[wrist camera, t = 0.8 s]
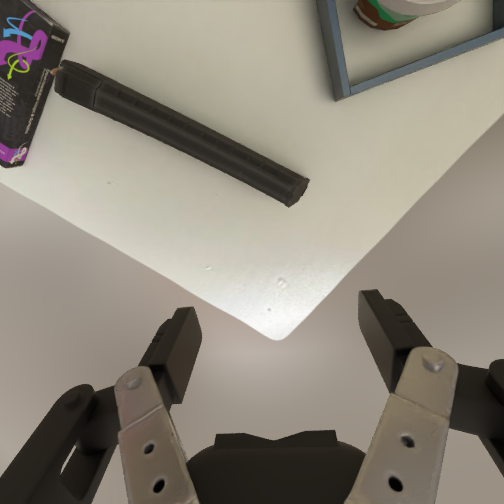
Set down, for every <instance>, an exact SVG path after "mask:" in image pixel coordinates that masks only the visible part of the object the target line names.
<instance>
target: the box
mask: <svg viewBox="0 0 504 504" xmlns="http://www.w3.org/2000/svg"><path fill="white" fill-rule="evenodd" d="M68 36H69V32H68V31H67V30H66V29H64V28H63V27H62V26H61V25H59V24H58V23H57V22H56V21H54V20H53V19H52V18H51V17H49V16H48V15H47V14H46V13H44V12H43V11H42V10H41V9H39V8H38V7H37V6H36V5H34V4H33V3H32V2H31V1H29V0H0V165H1V166H2V167H4V168H13V167H17V166H23V163H24V160H25V157H26V155H27V152H28V149H29V146H30V143H31V140H32V137H33V134H34V132H35V129H36V126H37V123H38V120H39V118H40V115H41V112H42V109H43V106H44V104H45V101H46V98H47V95H48V92H49V89H50V87H51V84H52V81H53V78H54V75H53V74H51V72H50V71H51V70H53V69H55V68H57V67H58V64H59V61H60V58H61V55H62V53H63V50H64V47H65V44H66V41H67V39H68Z"/></svg>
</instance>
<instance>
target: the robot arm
mask: <svg viewBox="0 0 504 504" xmlns="http://www.w3.org/2000/svg"><path fill="white" fill-rule="evenodd" d="M358 300H359V301H358V303H359V304H358V320H359V326H360V329H361V332H362V334H363V336H364V338H365V340H366V343H367V345H368V347H369V349H370V351H371V353H372V356H373V358H374V360H375V362H376V365H377V366H378V369H379V371H380V373H381V375H382V377H383V379H384V382H385V384H386V386H387V388H388V391H389V393H390V396H389V398H388V400H387V403H386V405H385V408H384V411H383V413H382V416H381V418H380V420H379V423H378V426H377V428H376V431H375V433H374V436H373V438H372V441H371V443H370V446H369V448H368V451H367V453H366V454H365V453H364V452H362V451H361V450H359V449H357V448H356V447H354V446H352V445H349V444H346V443H344V442H340V441H337V437H336V432H335V430H324V431H323V430H322V431H304V432H300V433H297V434H294V435H291V436H288V437H284V438H281V439H278V440H269V439H265V438H261V437H257V436H253V435H250V434H246V433H235V434H216V438H215V443H214V445H212V446H210V447H207V448H205V449H203V450H202V451H200V452H199V453H198V454H196V455H195V456H194V457H192V458H191V459H190V460H188V458H187V456H186V453H185V451H184V448H183V445H182V443H181V441H180V438H179V435H178V433H177V430H176V428H175V425H174V422H173V420H172V417H171V415H170V412H169V411H170V408H171V405H172V404H181V403H182V401H183V398H184V395H185V391H186V388H187V385H188V382H189V379H190V376H191V373H192V370H193V367H194V364H195V361H196V357H197V354H198V351H199V348H200V345H201V342H202V332H201V328H200V325H199V321H198V318H197V315H196V312H195V309H194V307H182V308H177V310H176V311H175V313H174V315H173V317H172V319H167V320H166V321H165V322H164V323H163V324H162V325H161V326H160V327H159V329H158V331H157V333H156V336H154V338H153V340H152V343H150V345H149V347H148V349H147V351H146V352H145V354H144V356H143V358H142V360H141V361H140V363H139V365H138V367H135V368H132V369H131V370H129V371H127V372H125V373H124V374H123V375H122V376H121V377H120V378H119V379H118V381H117V382H116V384H115V385H114V386H111V387H108V388H105V389H102V390H99V391H96V392H95V391H94V389H93V387H92V386H91V385H89V384H82V385H79V386H76V387H74V388H72V389H70V390H68V391H67V392H66V393H64V394H63V395H62V396H61V397H60V398H59V399H58V400H57V401H56V402H55V404H54V405H53V406H52V408H51V409H50V411H49V412H48V414H47V415H46V416H45V417H44V419H43V420H42V422H41V423H40V424H39V426H38V427H37V428H36V430H35V431H34V432H33V434H32V435H31V436H30V438H29V439H28V441H27V442H26V443H25V445H24V446H23V447H22V449H21V450H20V451H19V453H18V454H17V455H16V457H15V458H14V460H13V461H12V462H11V464H10V465H9V466H8V468H7V469H6V470H5V472H4V473H3V474H2V476H1V477H0V504H91V503H92V501H93V498H94V496H95V494H96V492H97V489H98V487H99V485H100V482H101V480H102V478H103V476H104V473H105V471H106V469H107V466H108V464H109V462H110V459H111V457H112V455H113V453H114V450H115V448H116V446H117V444H119V448H120V454H121V460H122V466H123V473H124V479H125V484H126V491H127V497H128V503H129V504H435V500H436V495H437V489H438V484H439V478H440V473H441V467H442V462H443V457H444V451H445V446H446V440H447V435H448V429H449V428H451V429H455V430H459V431H462V432H466V433H470V434H474V435H478V436H479V438H480V440H481V441H482V443H483V445H484V446H485V448H486V449H487V451H488V452H489V454H490V456H491V457H492V459H493V461H494V462H495V464H496V465H497V467H498V469H499V470H500V472H501V473H502V475H503V477H504V359H499V360H495V361H493V362H492V363H491V364H490V366H489V369H484V368H478V367H472V366H467V365H462V364H459V363H456V362H455V360H454V359H453V358H452V357H450V356H449V355H448V354H447V353H445V352H443V351H441V350H439V349H436V348H433V347H432V345H431V344H430V343H429V342H428V340H427V339H426V338H425V336H424V335H423V334H422V332H421V331H420V330H419V328H418V327H417V326H416V324H415V323H414V322H413V320H412V319H411V318H410V316H409V315H408V314H407V312H406V311H405V310H404V309H403V307H402V306H401V305H400V304H398V303H397V302H395V301H394V300H392V299H386V300H384V298H383V297H382V295H381V294H380V293H379V291H378V290H377V289H373V290H364V291H363V290H362V291H359V298H358ZM74 445H75V446H76V449H75V450H74V452H73V454H72V456H71V457H70V459H69V461H68V463H67V465H66V466H65V468H64V470H63V472H62V473H61V469H62V466H63V464H64V462H65V461H66V459H67V457H68V455H69V454H70V452H71V450H72V448H73V447H74ZM60 473H61V475H60Z"/></svg>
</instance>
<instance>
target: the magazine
mask: <svg viewBox="0 0 504 504" xmlns="http://www.w3.org/2000/svg"><path fill="white" fill-rule="evenodd" d="M60 66H61V68H55V69H53V70H51V71H50V72H51V74H53V75H54V76H56V78H55V87H54V90H55V92H57V93H59V95H60V96H62V97H63V98H66V99H68V100H70V101H72V102H75V103H77V104H79V105H81V106H84V107H86V108H88V109H90V110H92V111H95V112H97V113H100V114H103V115H105V116H107V117H109V118H111V119H113V120H115V121H118V122H120V123H122V124H125V125H127V126H129V127H130V128H133V129H135V130H138V131H140V132H142V133H144V134H146V135H148V136H151V137H153V138H155V139H157V140H159V141H161V142H163V143H165V144H167V145H170V146H172V147H174V148H176V149H178V150H179V151H182V152H184V153H186V154H188V155H190V156H192V157H194V158H196V159H198V160H200V161H202V162H204V163H206V164H208V165H210V166H213V167H215V168H217V169H219V170H221V171H222V172H224V173H227V174H228V175H230V176H232V177H234V178H236V179H238V180H240V181H242V182H244V183H246V184H248V185H250V186H251V187H253V188H256V189H257V190H259V191H261V192H263V193H265V194H266V195H269V196H271V197H272V198H274V199H276V200H278V201H280V202H282V203H283V204H285V206H287V207H291V206H292V205H293V204H295V203H296V202H298V201H299V199H300V197H301V196H303V194H304V192H305V190H306V189H307V187H308V186H307V185H308V183H309V181H310V179H308V178H304V177H302V176H300V175H298V174H297V173H295V172H293V171H291V170H289V169H287V168H285V167H283V166H281V165H279V164H277V163H276V162H274V161H272V160H270V159H268V158H266V157H264V156H262V155H260V154H258V153H256V152H255V151H253V150H251V149H249V148H247V147H245V146H243V145H241V144H239V143H237V142H235V141H233V140H231V139H230V138H228V137H226V136H224V135H222V134H220V133H218V132H216V131H214V130H212V129H210V128H208V127H206V126H204V125H202V124H200V123H198V122H196V121H194V120H192V119H190V118H188V117H186V116H184V115H182V114H180V113H178V112H176V111H174V110H172V109H170V108H168V107H166V106H164V105H162V104H160V103H158V102H156V101H154V100H152V99H150V98H148V97H146V96H144V95H142V94H140V93H138V92H136V91H134V90H132V89H130V88H128V87H126V86H124V85H122V84H120V83H118V82H117V81H115V80H113V79H111V78H108V77H106V76H104V75H102V74H100V73H98V72H96V71H94V70H92V69H90V68H88V67H86V66H84V65H82V64H79V63H76V62H72V61H68V60H62V62H61V64H60Z"/></svg>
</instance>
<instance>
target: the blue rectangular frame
mask: <svg viewBox="0 0 504 504" xmlns="http://www.w3.org/2000/svg"><path fill="white" fill-rule="evenodd" d="M316 2H317V7H318V13H319V18H320V23H321V29H322V34H323V39H324V44H325V50H326V55H327V60H328V65H329V71H330V76H331V81H332V87H333V92H334V97H335V102H337V101H339V100H342V99H345V98H347V97H350V96H353V95H355V94H358V93H360V92H363V91H366V90H368V89H371V88H374V87H376V86H379V85H382V84H384V83H387V82H389V81H392V80H395V79H397V78H400V77H403V76H405V75H408V74H410V73H413V72H416V71H418V70H421V69H424V68H426V67H429V66H432V65H434V64H437V63H439V62H442V61H445V60H447V59H450V58H453V57H455V56H458V55H460V54H463V53H466V52H468V51H471V50H474V49H476V48H479V47H482V46H484V45H487V44H489V43H492V42H495V41H497V40H500V39H502V38H504V0H494V10H493V32H490V33H488V34H485V35H483V36H480V37H478V38H475V39H472V40H470V41H467V42H465V43H462V44H459V45H457V46H454V47H452V48H449V49H447V50H444V51H441V52H439V53H436V54H434V55H431V56H428V57H426V58H423V59H421V60H418V61H416V62H413V63H410V64H408V65H405V66H403V67H400V68H397V69H395V70H392V71H390V72H387V73H385V74H382V75H379V76H377V77H374V78H372V79H369V80H366V81H364V82H361V83H359V84H356V85H354V86H351V87H349V82H348V76H347V70H346V64H345V58H344V52H343V46H342V40H341V34H340V28H339V22H338V16H337V10H336V4H335V0H316Z"/></svg>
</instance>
